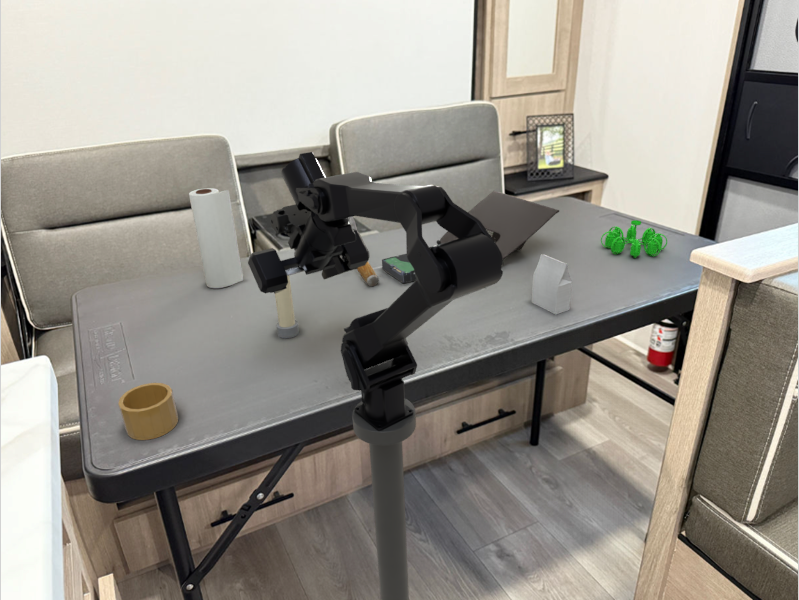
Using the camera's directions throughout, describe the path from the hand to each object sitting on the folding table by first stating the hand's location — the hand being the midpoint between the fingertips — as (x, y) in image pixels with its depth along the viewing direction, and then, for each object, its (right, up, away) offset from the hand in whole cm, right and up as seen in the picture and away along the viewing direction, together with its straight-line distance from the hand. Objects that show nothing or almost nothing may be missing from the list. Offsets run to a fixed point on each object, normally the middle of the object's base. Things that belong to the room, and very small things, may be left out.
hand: (299, 283), depth 102 cm
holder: (-19, -21, -13) cm, 31 cm away
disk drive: (+22, +4, +37) cm, 44 cm away
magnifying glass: (+6, +4, +39) cm, 40 cm away
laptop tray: (+40, +9, +47) cm, 62 cm away
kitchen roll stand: (-4, -9, +12) cm, 15 cm away
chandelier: (+73, +9, +44) cm, 86 cm away
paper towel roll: (-23, +1, +34) cm, 41 cm away
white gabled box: (+47, -4, +18) cm, 50 cm away
